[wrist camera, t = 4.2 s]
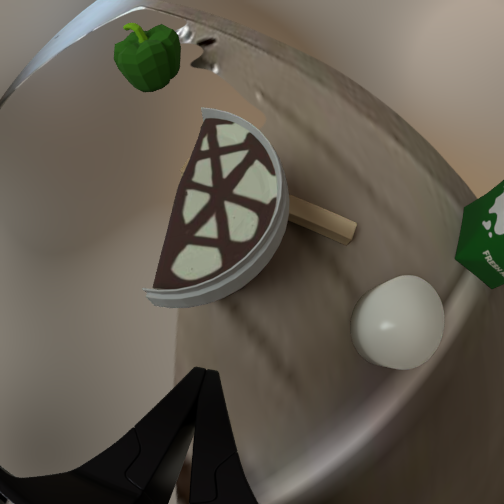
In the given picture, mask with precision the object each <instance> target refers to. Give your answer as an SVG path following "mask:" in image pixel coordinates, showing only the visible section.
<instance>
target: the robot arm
mask: <svg viewBox="0 0 504 504" xmlns="http://www.w3.org/2000/svg"><path fill="white" fill-rule="evenodd" d="M193 435H194V443H193V455H192V467H191V482H190V498H189V504H258V502H257V500H256V498H255V496H254V494H253V492H252V490H251V488H250V486H249V484H248V481H247V479H246V477H245V474H244V471H243V468H242V465H241V462H240V458H239V455H238V452H237V447H236V444H235V440H234V436H233V432H232V428H231V424H230V420H229V416H228V411H227V407H226V403H225V398H224V394H223V390H222V385H221V380H220V376H219V372H218V371H216V370H210V369H208V370H206V369H205V368H201V367H194V368H193V369H192V370H191V371H190V372H189V373H188V374H187V375H186V376H185V377H184V378H183V379H182V380H181V381H180V382H179V383H178V384H177V385H176V386H175V387H174V388H173V389H172V390H171V391H170V392H169V393H168V394H167V395H166V396H165V397H164V398H163V399H162V400H161V401H160V402H159V403H158V404H157V405H156V406H155V407H154V408H153V409H152V410H151V411H150V412H148V413H147V414H146V415H145V416H144V417H143V418H142V419H141V420H140V421H139V422H138V423H137V424H136V425H135V428H132V429H131V430H129V431H128V432H127V433H126V434H125V435H124V436H123V437H122V438H120V439H119V440H118V441H117V442H116V443H114V444H113V445H112V446H110V447H109V448H107V449H106V450H105V451H103V452H102V453H100V454H99V455H97V456H96V457H94V458H92V459H91V460H90V461H88V462H86V463H85V464H83V465H82V466H80V467H78V468H76V469H74V470H71V471H68V472H64V473H59V474H52V475H45V476H37V477H29V478H28V477H27V478H19V477H15V476H14V475H12V474H11V473H9V472H8V471H7V470H5V469H4V468H3V467H1V466H0V504H168V503H169V500H170V497H171V495H172V492H173V489H174V487H175V484H176V481H177V479H178V476H179V473H180V470H181V468H182V465H183V462H184V460H185V457H186V454H187V451H188V449H189V446H190V443H191V440H192V438H193Z"/></svg>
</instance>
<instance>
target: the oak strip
mask: <svg viewBox="0 0 504 504" xmlns="http://www.w3.org/2000/svg"><path fill="white" fill-rule="evenodd" d="M189 160H190V158H189V159H188V160H187V161H186V163H185V164H184V166H183V167H182V169H181V170H180V172H181V174H182V176H183V173H184V171H185V169H186V166H187V164H188V162H189ZM289 199H290V200H289V217H288V221H291V222H293V223H296V224H298V225H300V226H303V227H305V228H307V229H310V230H312V231H314V232H317V233H319V234H321V235H323V236H326V237H328V238H330V239H333V240H335V241H337V242H339V243H342V244H344V245H346V246H347V244H348V243H349V242H350V241H351V240H352V238H353V234H354V231H355V228H356V225H357V223H355V222H353V221H351V220H348V219H346V218H344V217H342V216H340V215H337V214H335V213H333V212H330V211H328V210H326V209H324V208H321V207H319V206H317V205H314V204H312V203H309V202H307V201H305V200H302V199H300V198H297V197H295V196H292V195H290V194H289Z"/></svg>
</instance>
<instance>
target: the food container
mask: <svg viewBox="0 0 504 504" xmlns="http://www.w3.org/2000/svg"><path fill="white" fill-rule="evenodd" d="M201 110H202V116H203V124H202V126H201V130H200V133H199V137H198V140H197V142H196V144H195V147H194V150H193V152H192V155H191V157H190V160H189V162H188V164H187V166H186V169H185V171H184V173H183V176H182V178H181V181H180V184H179V186H178V189H177V193H176V196H175V200H174V205H173V209H172V213H171V217H170V221H169V225H168V229H167V233H166V237H165V241H164V245H163V248H162V252H161V256H160V260H159V264H158V268H157V272H156V276H155V280H154V284H153V289H146V288H142V290H144V291H145V292H147V295H146V297H147V298H148V299H149V300H150V301H151V302H152V303H153V304H154V305H155V306H160V307H167V308H189V307H194V306H199V305H204V304H208V303H211V302H214V301H216V300H219V299H222V298H224V297H226V296H228V295H230V294H232V293H234V292H236V291H238V290H239V289H241V288H243V287H244V286H245V285H246V284H247V283H248V282H249V281H251V280H252V279H253V278H254V277H256V276H257V275H258V274H259V272H260V271H261V270H262V269H263V268H264V267H265V266H266V265H267V264H268V262H269V261H270V260H271V258H272V256H273V255H274V253H275V252H276V250H277V248H278V247H279V245H280V242H281V240H282V238H283V235H284V233H285V230H286V226H287V221H288V217H289V200H290V199H289V192H288V185H287V181H286V177H285V173H284V170H283V167H282V164H281V161H280V158H279V157H278V155H277V153H276V151H275V150H274V148H273V146H272V145H271V144H270V143H269V141H268V140H267V139H266V137H265V136H264V135H263V134H262V133H261V132H260V131H259V130H258V129H257V128H256V127H254V126H253V125H252V124H251V123H249V122H248V121H245V120H244V119H242V118H241V117H239V116H236V115H234V114H231V113H229V112H225V111H221V110H217V109H211V108H201ZM155 289H157V290H155Z"/></svg>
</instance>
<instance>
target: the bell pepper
mask: <svg viewBox="0 0 504 504" xmlns="http://www.w3.org/2000/svg"><path fill="white" fill-rule="evenodd" d="M123 28H124V29H125V30H129V29H132V30H133V31H134V32H132V33H131V34H130V35H129V36H128V37H127V38H126V39H125V40H124V41H121V42H119V43H117V44H115V50H114V60H115V62H116V65H117V67H118V69H119V70H120V71H121V72H122V74H123V75H124V76H125V78H126V79H127V80H128V81H129V82H130V83H131V84H132V85H133V86H134V87H135V88H137V89H138V90H140V91H143V92H153V91H156V90H159V89H162V88H163V87H165V86H166V85H167V84H168V83H169V81H170V79H172V78H174V77H175V76H176V75H177V73H178V71H179V68H180V52H181V46H180V42H179V37H178V34H177V33H176V32H175V31H174V30H173V29H170V28H168V27H166V26H164V25H162V24H161V25H158V26H156V27H154V28H152V29H150V30H149V31H143V30H142V28H141V27H140V26H139V25H137V24H136V23H128V24H126V25H125V26H124V27H123Z"/></svg>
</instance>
